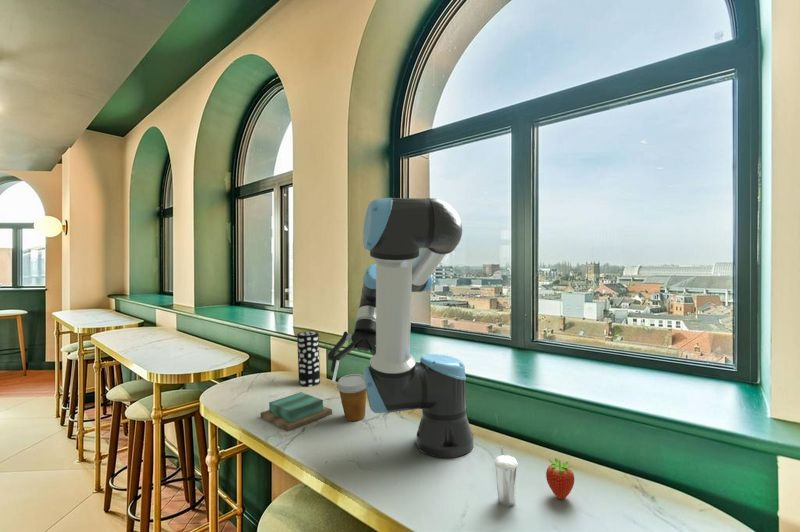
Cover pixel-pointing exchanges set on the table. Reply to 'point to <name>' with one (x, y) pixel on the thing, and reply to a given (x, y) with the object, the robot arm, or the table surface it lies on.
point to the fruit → (560, 479)
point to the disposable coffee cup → (353, 396)
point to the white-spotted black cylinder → (308, 359)
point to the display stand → (295, 411)
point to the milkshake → (506, 478)
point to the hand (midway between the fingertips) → (356, 386)
